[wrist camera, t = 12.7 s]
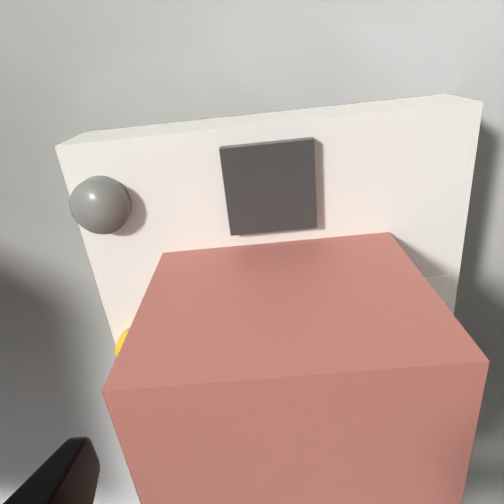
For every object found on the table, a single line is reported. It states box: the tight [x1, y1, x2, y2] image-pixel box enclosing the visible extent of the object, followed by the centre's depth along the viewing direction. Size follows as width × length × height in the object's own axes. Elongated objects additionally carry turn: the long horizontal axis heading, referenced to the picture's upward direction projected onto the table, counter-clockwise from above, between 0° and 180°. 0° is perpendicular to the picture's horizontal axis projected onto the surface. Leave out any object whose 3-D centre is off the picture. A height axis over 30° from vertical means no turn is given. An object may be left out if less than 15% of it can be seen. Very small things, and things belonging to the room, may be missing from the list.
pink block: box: [102, 232, 490, 504], centre depth 10 cm, size 6×6×5 cm
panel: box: [55, 94, 483, 358], centre depth 13 cm, size 12×10×2 cm
